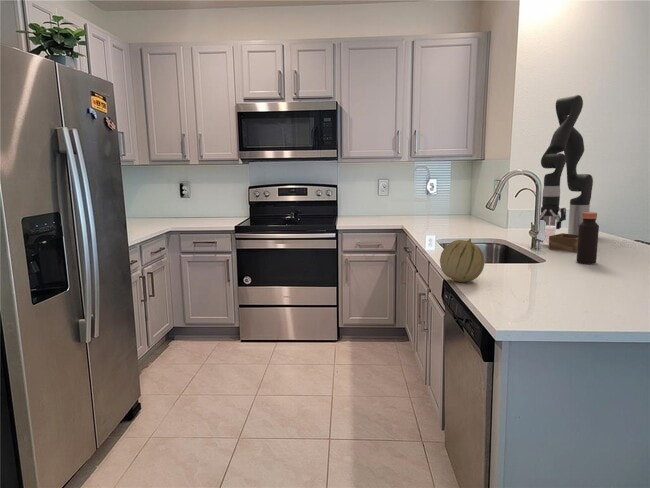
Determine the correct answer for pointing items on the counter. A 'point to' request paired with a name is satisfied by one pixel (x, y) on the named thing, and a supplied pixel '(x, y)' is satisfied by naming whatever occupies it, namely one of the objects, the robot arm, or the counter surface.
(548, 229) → the beverage cup
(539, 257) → the counter surface
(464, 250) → the cantaloupe
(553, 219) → the coffee box
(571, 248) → the wooden square frame
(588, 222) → the bottle
